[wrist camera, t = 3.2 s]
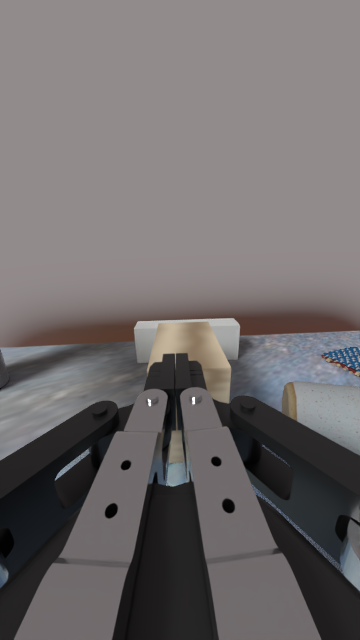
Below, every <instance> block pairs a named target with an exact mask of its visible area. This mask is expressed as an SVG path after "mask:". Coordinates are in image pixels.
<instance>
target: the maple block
mask: <svg viewBox="0 0 360 640" xmlns="http://www.w3.org/2000/svg"><path fill="white" fill-rule="evenodd" d="M171 353H175V364H176V353H188V360H189V361H196V360H197V361H198V362H199V363H200V364H201V366H202V371H203V375H204V379H205V383H206V387H207V391H208V392H209V393H210V395H211V397H212V398H213V399H215V400H217V401H220V402H223V403H229V397H230V379H231V366H230V364H229V362H228V360H227V358H226V356H225V354H224V352H223V350H222V348H221V346H220V344H219V342H218V340H217V338H216V336H215V334H214V332H213V330H212V328H211V326H210V324H209V322H183V323H158V327H157V332H156V336H155V340H154V344H153V348H152V352H151V356H150V360H149V364H148V368H147V377H148V373H149V368H150V366H151V365H152V364H153V363H154V362H162V358H163V354H171ZM170 444H171V447H170V456H169V463H180V462H184V459H183V450H182V432H181V430H178V428H177V407H176V431H172V434H171V441H170Z"/></svg>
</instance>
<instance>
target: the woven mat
mask: <svg viewBox="0 0 360 640" xmlns="http://www.w3.org/2000/svg"><path fill="white" fill-rule="evenodd" d="M323 354H324V355H321V356H322V357H324V358H322V359H321V360H325V359H326V360H325V361H327V362H334V363H331V364H332V365H336V364H337V367H339V368H340V367H344V368H343V369H344V370H351V371H349V372H350V373H354V375H356V376H360V348H357V347H350V348H345V349H340V350H338V351H336V350H335V351H334V352H331V351H330V352H329V353H323Z"/></svg>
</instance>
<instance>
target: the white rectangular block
mask: <svg viewBox="0 0 360 640" xmlns="http://www.w3.org/2000/svg"><path fill="white" fill-rule="evenodd" d="M183 322H209V324H210V326H211V328H212V330H213V332H214V334H215V336H216V338H217V340H218V342H219V344H220V346H221V348H222V350H223V352H224V354H225V356H226V358H227V360H238V348H239V333H240V325H239V324H238V323H237V322H236V321H235V320H234V318H228V319H227V318H226V319H196V320H166V321H139V322H137V324H136V326H135V328H134V335H135V345H136V355H137V363H149V360H150V356H151V352H152V348H153V344H154V340H155V336H156V332H157V327H158V323H183Z"/></svg>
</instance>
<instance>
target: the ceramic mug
mask: <svg viewBox="0 0 360 640" xmlns="http://www.w3.org/2000/svg"><path fill="white" fill-rule="evenodd" d="M282 413H283V414H285V415H287V416H288V417H290V418H292V419H294V420H296V421H297V422H299V423H301V424H303V425H305V426H307V427H308V428H310V429H312V430H314V431H316V432H318V433H319V434H321V435H323V436H325V437H327V438H329V439H330V440H332V441H334V442H336V443H338V444H340V445H341V446H343V447H345V448H347V449H349V450H350V451H352V452H354V453H356V454H358V455H360V387H355V386H342V385H332V384H320V383H311V382H289V383H287V384H286V385H285V386H284V390H283V397H282Z"/></svg>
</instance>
